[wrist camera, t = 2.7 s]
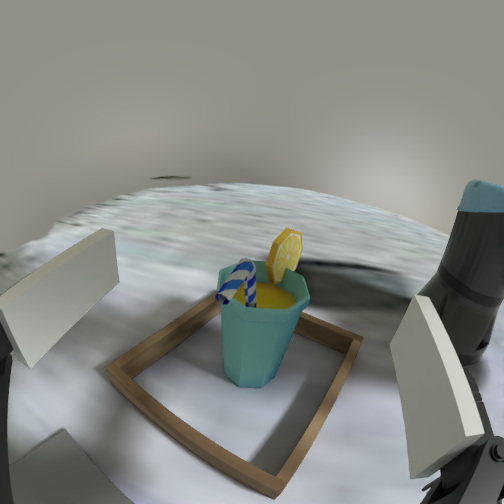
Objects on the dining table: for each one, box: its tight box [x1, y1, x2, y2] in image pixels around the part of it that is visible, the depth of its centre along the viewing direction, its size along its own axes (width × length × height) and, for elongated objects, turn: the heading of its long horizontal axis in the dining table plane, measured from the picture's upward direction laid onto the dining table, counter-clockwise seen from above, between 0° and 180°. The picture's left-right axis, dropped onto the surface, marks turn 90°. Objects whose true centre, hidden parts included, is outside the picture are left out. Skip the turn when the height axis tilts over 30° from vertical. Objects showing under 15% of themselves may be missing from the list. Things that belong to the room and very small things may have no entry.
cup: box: [215, 228, 311, 388], centre depth 23 cm, size 14×8×15 cm, turn 159°
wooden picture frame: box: [105, 292, 363, 499], centre depth 26 cm, size 20×18×2 cm
